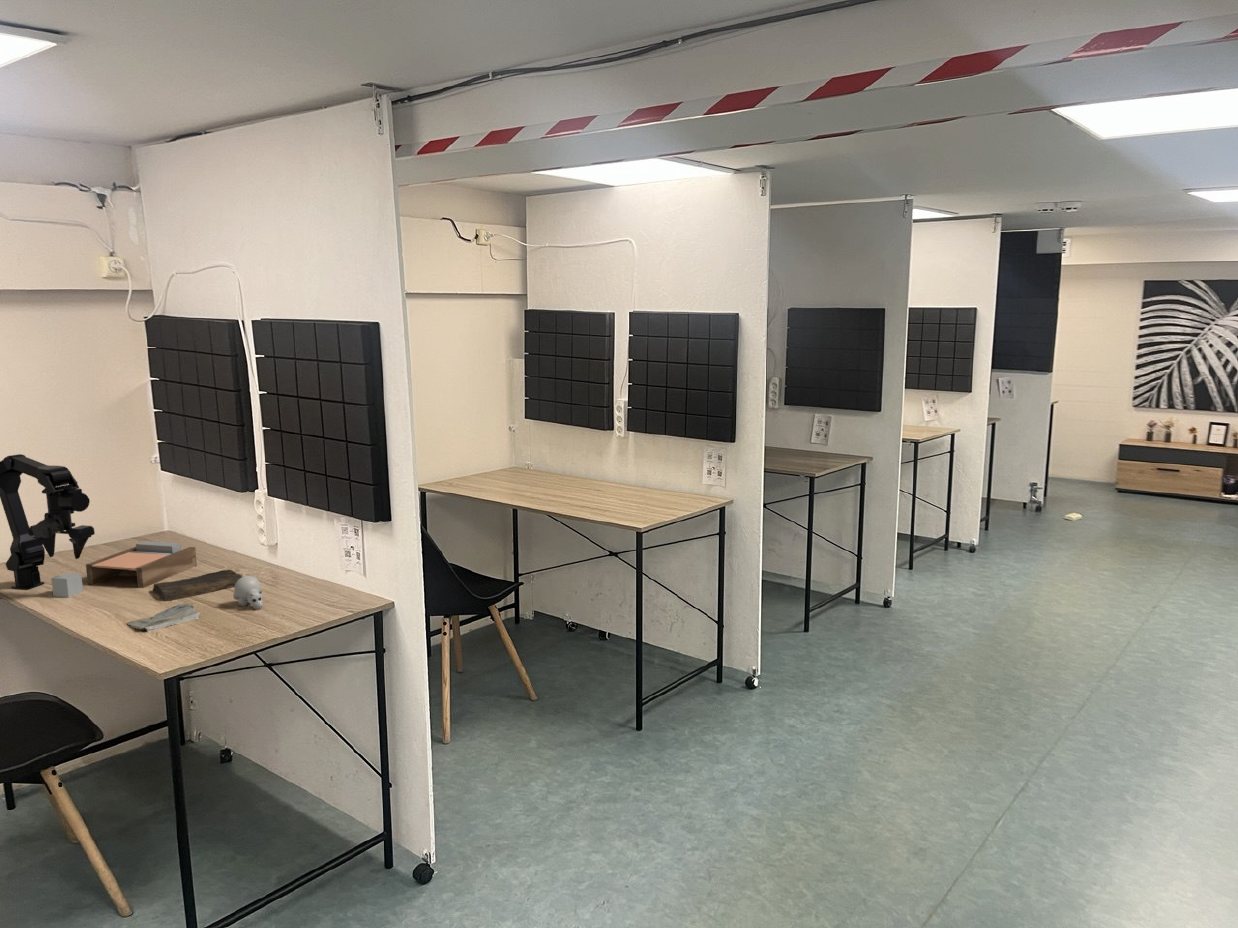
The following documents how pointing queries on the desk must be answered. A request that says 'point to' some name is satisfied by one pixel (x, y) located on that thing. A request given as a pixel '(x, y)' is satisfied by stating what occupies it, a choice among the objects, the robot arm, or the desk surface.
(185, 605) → the fossil rock
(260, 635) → the desk surface
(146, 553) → the trapdoor
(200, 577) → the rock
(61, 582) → the gray cube
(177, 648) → the desk surface
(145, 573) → the frame
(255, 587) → the chubby cartoon animal
